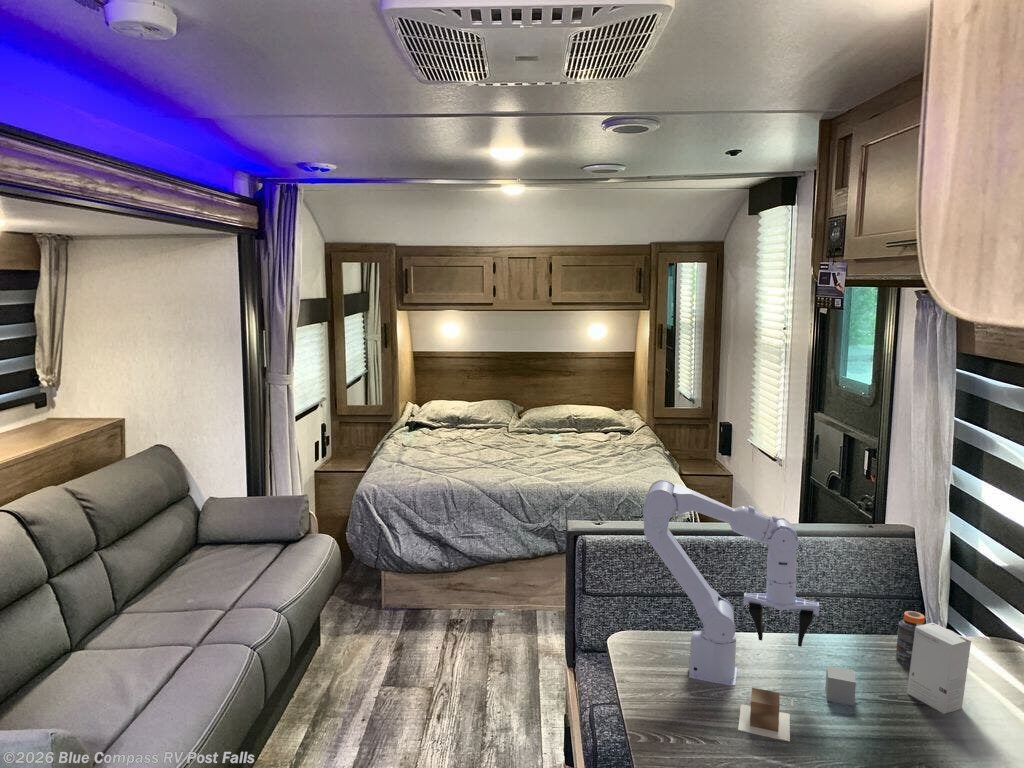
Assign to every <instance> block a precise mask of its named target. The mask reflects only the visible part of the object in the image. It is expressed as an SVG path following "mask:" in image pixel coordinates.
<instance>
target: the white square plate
mask: <svg viewBox="0 0 1024 768" xmlns="http://www.w3.org/2000/svg"><path fill="white" fill-rule="evenodd" d="M739 709H740V711H739V720H738V727H737V731H740V732H744V733H749V734H752V735H753V734H754V735H759V736H762V737H767V738H771V739H776V740H781V741H785V742H789V743H790V742H791V738H790V737H791V727H790V725H791V719H790V718H791V716H790V714H791V713H787V712H781V711H779V727H778V732H776V731H771V730H766V729H762V728H757V727H752V726H750V712H751V705H747V704H740V708H739Z"/></svg>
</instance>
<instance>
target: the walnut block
mask: <svg viewBox="0 0 1024 768" xmlns="http://www.w3.org/2000/svg"><path fill="white" fill-rule="evenodd" d="M780 701H781V700H780V692H778V691H772V690H767V689H761V688H757V687H751V696H750V706H751V712H750V726H752V727H757V728H762V729H766V730H771V731H776V732H778V727H779V712H780V705H781V704H780V703H781V702H780Z"/></svg>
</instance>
